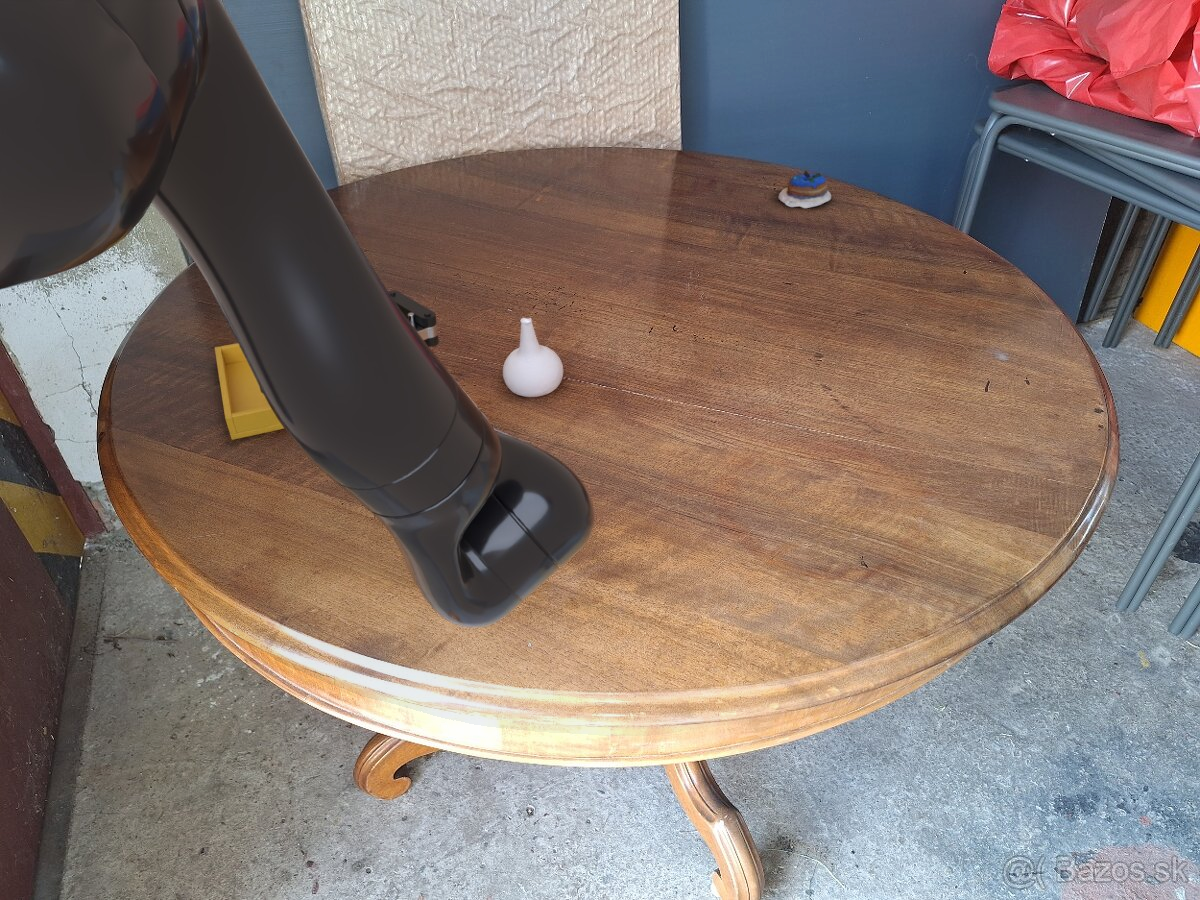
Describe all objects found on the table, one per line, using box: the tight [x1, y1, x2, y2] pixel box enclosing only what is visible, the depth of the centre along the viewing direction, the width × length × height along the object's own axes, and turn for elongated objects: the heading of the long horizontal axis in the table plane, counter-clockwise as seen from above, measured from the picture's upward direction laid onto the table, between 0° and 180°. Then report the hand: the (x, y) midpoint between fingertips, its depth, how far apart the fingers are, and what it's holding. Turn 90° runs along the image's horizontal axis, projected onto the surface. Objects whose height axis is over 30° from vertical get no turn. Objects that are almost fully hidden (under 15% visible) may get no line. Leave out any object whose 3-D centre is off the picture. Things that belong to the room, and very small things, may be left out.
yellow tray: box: [214, 342, 285, 441], centre depth 93 cm, size 14×14×3 cm
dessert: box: [778, 170, 832, 209], centre depth 135 cm, size 8×7×6 cm
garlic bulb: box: [502, 317, 564, 398], centre depth 92 cm, size 6×6×8 cm
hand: (308, 299), depth 72 cm, fingers closed on lemon, 5 cm apart
